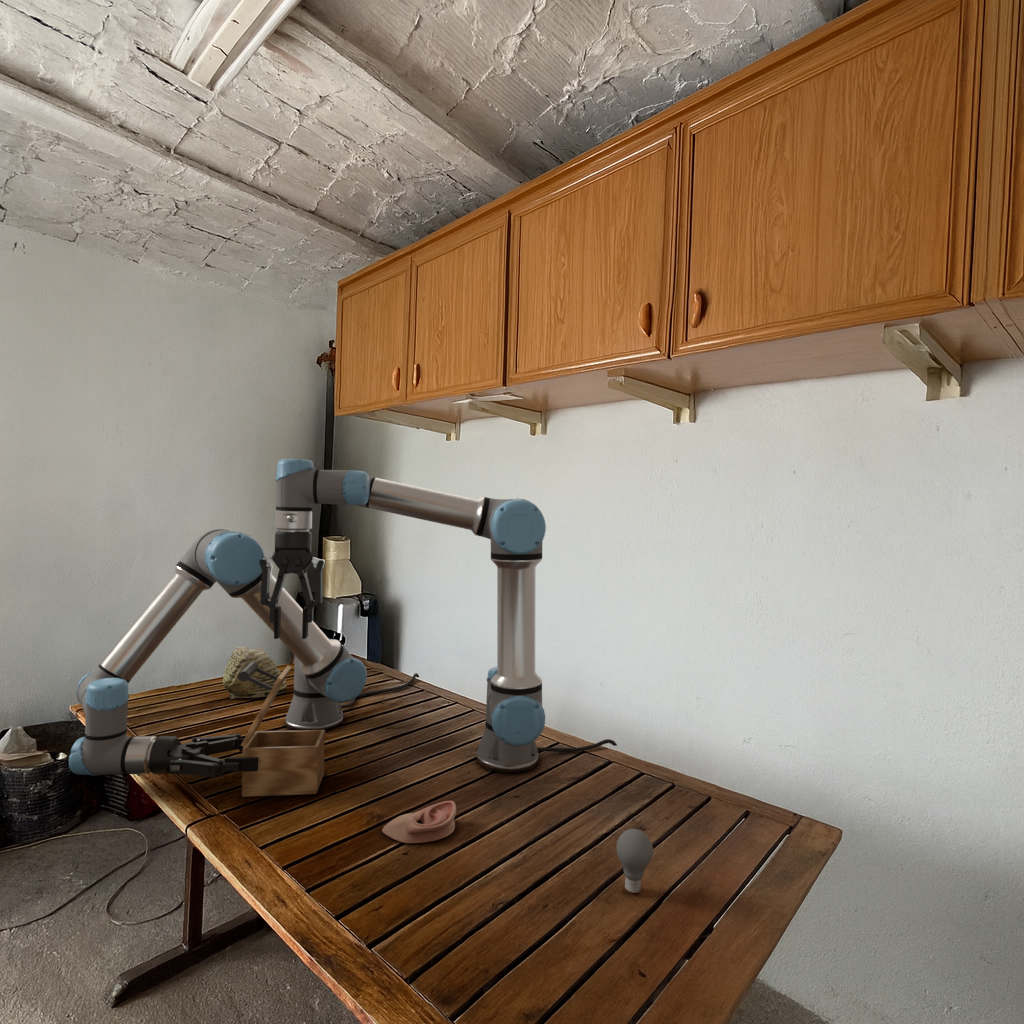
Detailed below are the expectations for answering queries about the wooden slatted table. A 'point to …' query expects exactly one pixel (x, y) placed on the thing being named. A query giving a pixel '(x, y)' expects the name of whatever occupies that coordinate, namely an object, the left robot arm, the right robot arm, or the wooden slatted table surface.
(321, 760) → the chest
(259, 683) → the lid
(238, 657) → the fossil
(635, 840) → the light bulb
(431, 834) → the anatomical model
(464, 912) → the wooden slatted table surface
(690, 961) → the wooden slatted table surface
